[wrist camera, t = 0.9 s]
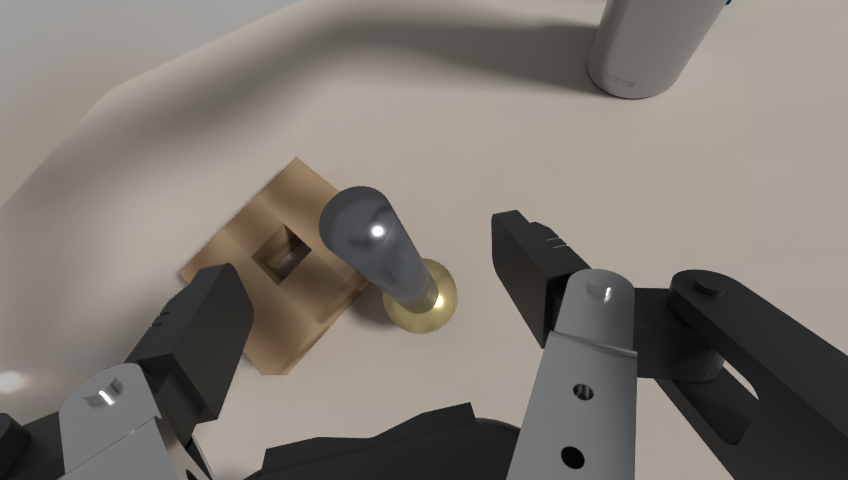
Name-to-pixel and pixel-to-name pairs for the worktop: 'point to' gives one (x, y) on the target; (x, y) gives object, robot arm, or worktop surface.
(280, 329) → the wooden base block
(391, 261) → the steel pin
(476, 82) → the worktop surface
